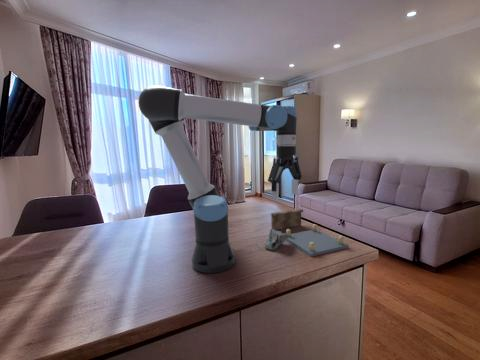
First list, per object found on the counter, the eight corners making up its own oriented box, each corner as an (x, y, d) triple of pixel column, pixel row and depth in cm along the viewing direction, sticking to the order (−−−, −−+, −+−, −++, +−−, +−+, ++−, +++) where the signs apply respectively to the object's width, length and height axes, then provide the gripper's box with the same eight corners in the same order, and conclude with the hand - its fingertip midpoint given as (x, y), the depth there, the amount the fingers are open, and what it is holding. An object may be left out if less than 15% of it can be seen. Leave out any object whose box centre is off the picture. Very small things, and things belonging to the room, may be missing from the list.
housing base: (310, 256, 91) (311, 245, 91) (282, 238, 110) (282, 229, 109) (348, 247, 98) (348, 237, 97) (315, 231, 116) (315, 223, 116)
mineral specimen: (270, 255, 104) (287, 257, 96) (257, 246, 101) (274, 247, 93) (277, 235, 109) (294, 235, 101) (265, 225, 106) (282, 224, 98)
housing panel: (274, 231, 118) (274, 214, 116) (271, 229, 120) (271, 212, 119) (303, 226, 123) (303, 210, 122) (299, 224, 126) (299, 208, 125)
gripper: (274, 146, 90) (273, 202, 94) (310, 145, 107) (309, 193, 111) (259, 146, 96) (258, 199, 99) (296, 145, 113) (294, 191, 116)
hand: (285, 196), depth 105 cm, fingers open, 13 cm apart
